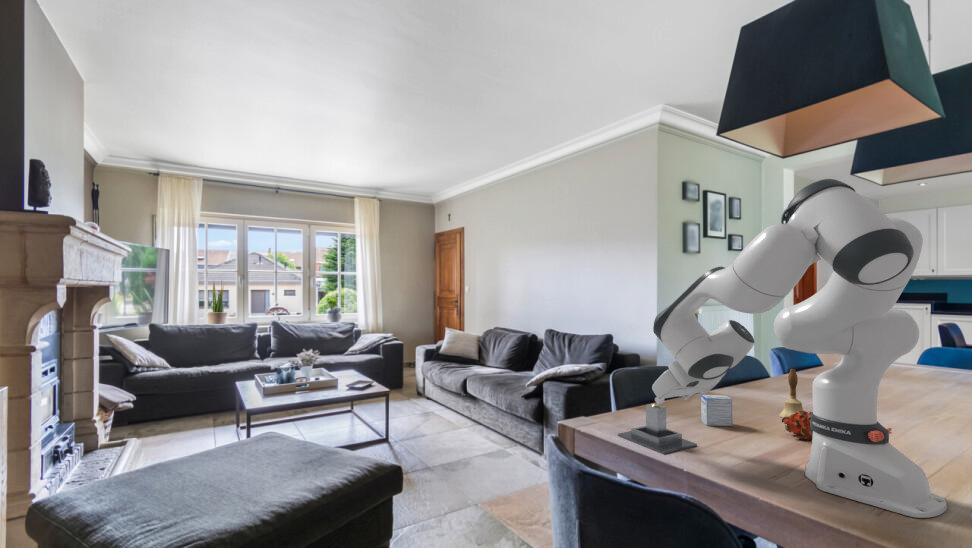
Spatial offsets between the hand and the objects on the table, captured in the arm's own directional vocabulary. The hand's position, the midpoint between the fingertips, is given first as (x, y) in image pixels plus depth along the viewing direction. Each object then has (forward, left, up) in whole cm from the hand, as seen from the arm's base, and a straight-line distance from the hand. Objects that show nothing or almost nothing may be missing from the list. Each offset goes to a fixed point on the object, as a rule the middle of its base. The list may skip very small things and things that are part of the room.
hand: (670, 399), depth 121 cm
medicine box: (+6, -28, -12) cm, 31 cm away
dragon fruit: (-14, -38, -12) cm, 43 cm away
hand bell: (-1, -58, -12) cm, 60 cm away
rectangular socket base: (+4, +1, -12) cm, 13 cm away
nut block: (+4, +1, -11) cm, 12 cm away
